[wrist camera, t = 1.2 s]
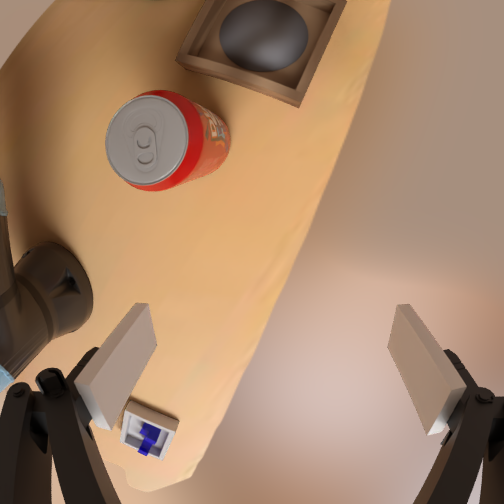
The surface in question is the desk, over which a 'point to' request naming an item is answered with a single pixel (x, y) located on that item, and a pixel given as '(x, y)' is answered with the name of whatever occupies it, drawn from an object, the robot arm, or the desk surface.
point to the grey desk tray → (140, 414)
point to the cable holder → (148, 437)
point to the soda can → (165, 141)
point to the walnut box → (261, 43)
